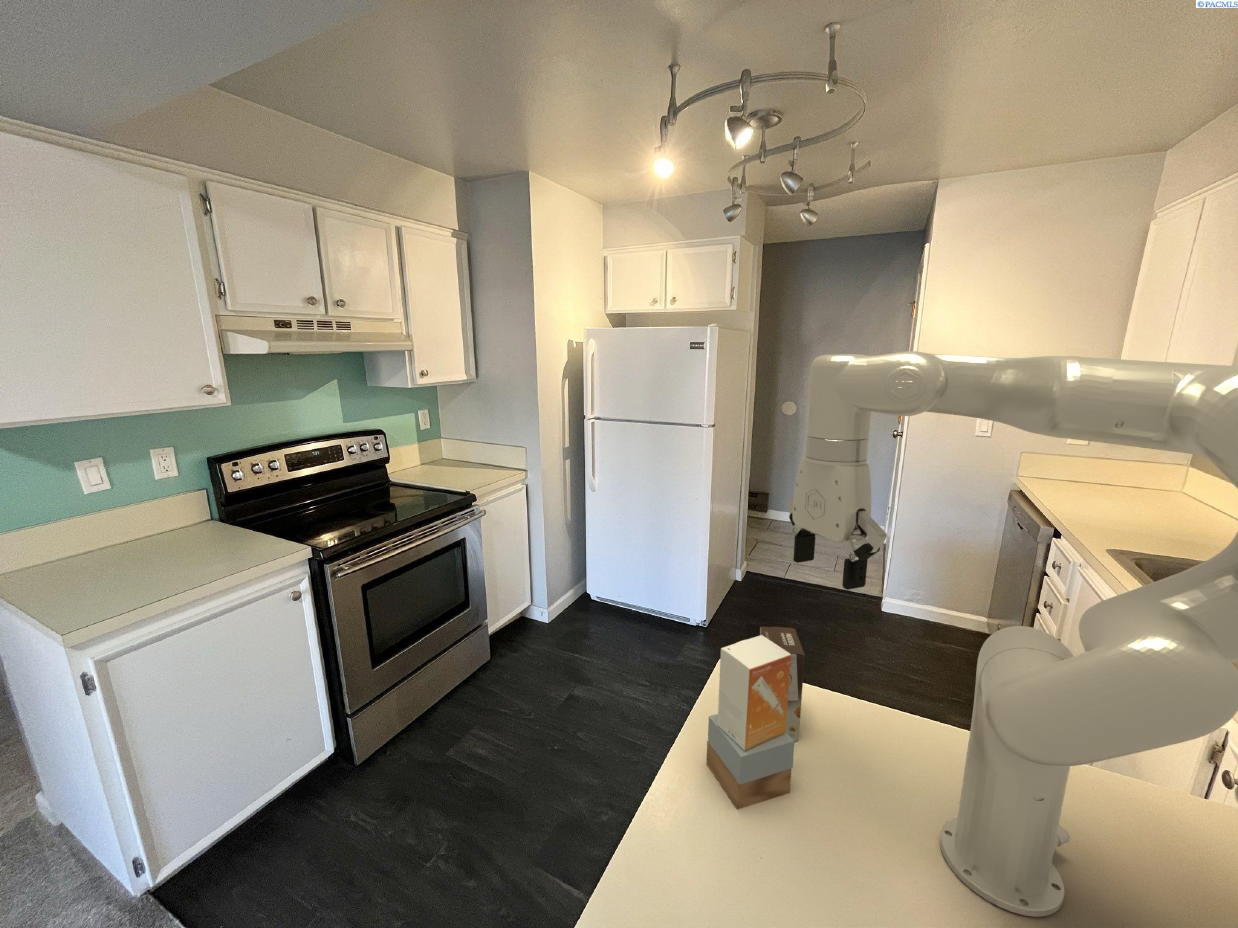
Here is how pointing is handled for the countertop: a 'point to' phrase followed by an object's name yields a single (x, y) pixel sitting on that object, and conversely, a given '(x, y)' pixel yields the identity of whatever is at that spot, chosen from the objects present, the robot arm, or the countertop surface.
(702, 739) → the countertop surface
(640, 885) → the countertop surface
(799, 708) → the coffee box
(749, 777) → the tower top block
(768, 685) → the small box
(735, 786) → the tower base block
